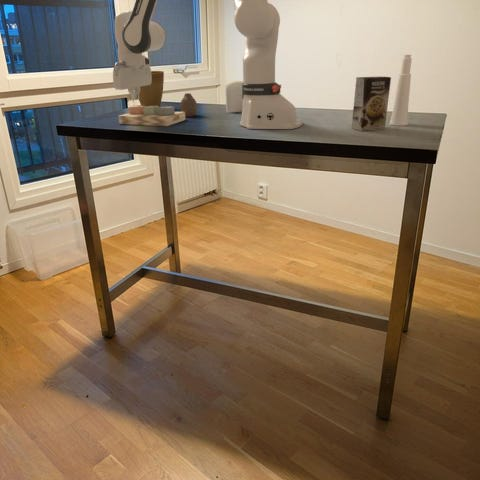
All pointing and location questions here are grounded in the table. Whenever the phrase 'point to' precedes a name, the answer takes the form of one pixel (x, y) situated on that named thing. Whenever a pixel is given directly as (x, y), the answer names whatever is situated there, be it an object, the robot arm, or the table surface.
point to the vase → (188, 105)
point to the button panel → (151, 119)
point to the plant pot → (152, 90)
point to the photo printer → (234, 97)
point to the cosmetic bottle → (402, 94)
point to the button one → (136, 109)
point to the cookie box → (370, 103)
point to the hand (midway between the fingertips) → (135, 99)
